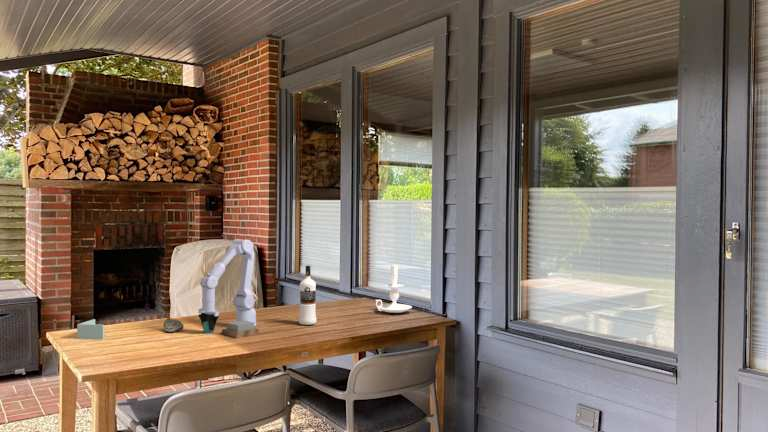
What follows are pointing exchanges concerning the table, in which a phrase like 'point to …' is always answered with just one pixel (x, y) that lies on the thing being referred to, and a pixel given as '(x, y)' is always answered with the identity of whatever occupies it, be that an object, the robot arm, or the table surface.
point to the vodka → (307, 300)
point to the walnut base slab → (239, 333)
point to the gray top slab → (240, 325)
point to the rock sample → (172, 325)
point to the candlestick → (393, 295)
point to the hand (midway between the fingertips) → (208, 329)
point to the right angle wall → (90, 330)
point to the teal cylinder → (206, 328)
